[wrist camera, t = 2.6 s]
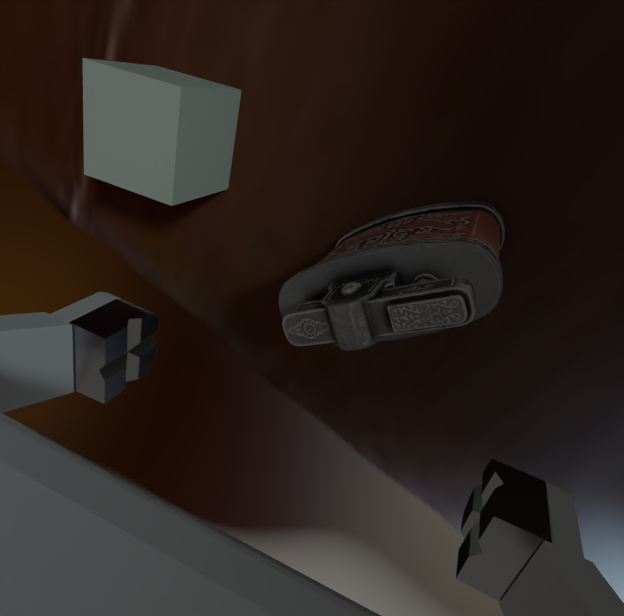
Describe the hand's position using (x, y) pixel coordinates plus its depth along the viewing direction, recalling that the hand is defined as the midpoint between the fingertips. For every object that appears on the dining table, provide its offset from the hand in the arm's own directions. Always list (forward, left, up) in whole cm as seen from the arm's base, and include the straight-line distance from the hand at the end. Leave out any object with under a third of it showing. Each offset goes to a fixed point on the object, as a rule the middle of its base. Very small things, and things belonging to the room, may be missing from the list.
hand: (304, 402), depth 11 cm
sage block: (+13, -2, -14) cm, 19 cm away
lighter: (0, 0, -14) cm, 14 cm away
